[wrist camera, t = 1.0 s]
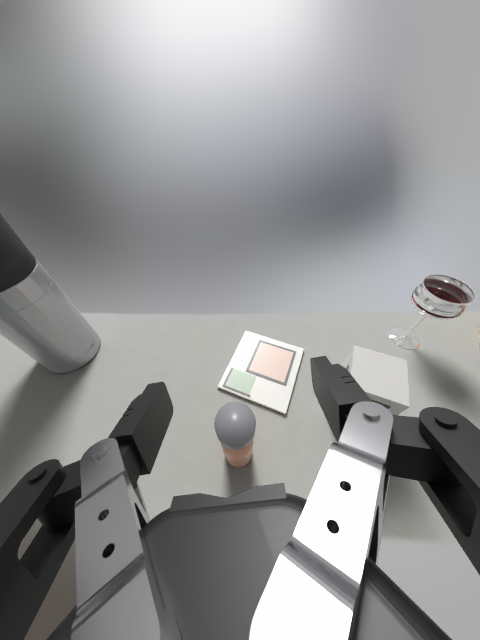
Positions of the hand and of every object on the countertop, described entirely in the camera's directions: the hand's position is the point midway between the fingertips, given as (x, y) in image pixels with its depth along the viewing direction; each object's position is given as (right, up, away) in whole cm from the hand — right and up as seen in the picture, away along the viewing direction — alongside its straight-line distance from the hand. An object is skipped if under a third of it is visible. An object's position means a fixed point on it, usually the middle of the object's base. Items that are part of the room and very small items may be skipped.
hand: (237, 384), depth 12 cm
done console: (+16, -9, +22) cm, 29 cm away
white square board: (+4, -5, +26) cm, 27 cm away
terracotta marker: (0, -14, +18) cm, 23 cm away
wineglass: (+30, 0, +30) cm, 42 cm away
